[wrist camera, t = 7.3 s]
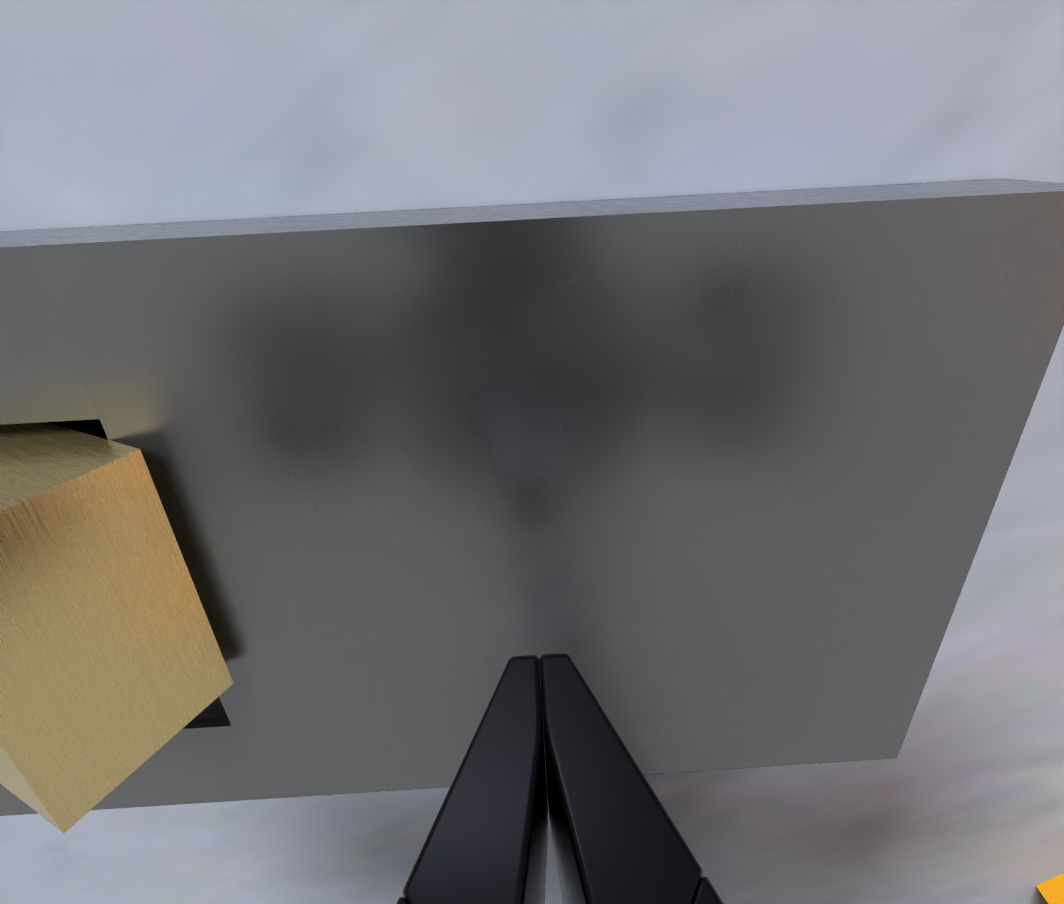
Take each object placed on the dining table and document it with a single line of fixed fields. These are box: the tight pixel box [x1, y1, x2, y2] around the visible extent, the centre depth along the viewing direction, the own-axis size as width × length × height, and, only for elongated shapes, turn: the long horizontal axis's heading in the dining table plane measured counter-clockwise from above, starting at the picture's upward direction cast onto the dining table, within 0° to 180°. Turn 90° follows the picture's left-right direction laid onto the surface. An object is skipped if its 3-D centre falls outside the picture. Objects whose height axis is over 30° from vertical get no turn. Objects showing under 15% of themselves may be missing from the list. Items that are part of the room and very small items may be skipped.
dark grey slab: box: [0, 179, 1064, 816], centre depth 11 cm, size 12×24×2 cm, turn 93°
